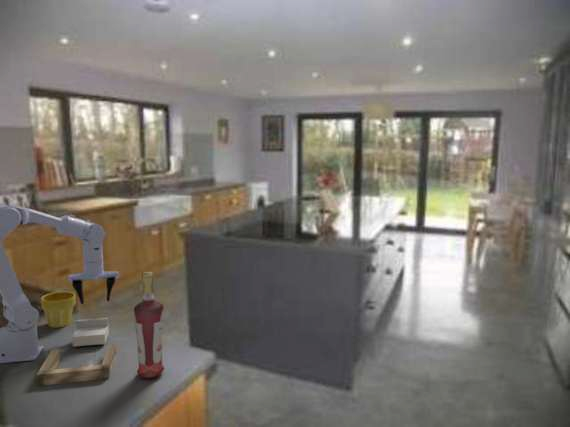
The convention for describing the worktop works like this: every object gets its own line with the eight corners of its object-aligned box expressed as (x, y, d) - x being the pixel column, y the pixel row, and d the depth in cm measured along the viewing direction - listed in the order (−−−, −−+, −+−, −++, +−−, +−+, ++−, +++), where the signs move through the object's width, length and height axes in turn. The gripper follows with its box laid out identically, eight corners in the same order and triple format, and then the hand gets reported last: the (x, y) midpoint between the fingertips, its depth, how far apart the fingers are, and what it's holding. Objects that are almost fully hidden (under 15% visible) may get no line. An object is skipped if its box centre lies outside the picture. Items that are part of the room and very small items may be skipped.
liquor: (164, 380, 112) (161, 276, 108) (134, 383, 111) (130, 278, 106) (165, 366, 119) (163, 268, 115) (138, 368, 118) (134, 269, 113)
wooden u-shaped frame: (37, 385, 109) (36, 374, 108) (52, 359, 122) (52, 349, 122) (109, 378, 113) (108, 367, 112) (116, 353, 126) (116, 343, 126)
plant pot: (83, 318, 151) (81, 291, 149) (65, 331, 140) (63, 302, 139) (55, 316, 152) (53, 290, 150) (35, 329, 141) (33, 300, 140)
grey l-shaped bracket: (72, 349, 128) (71, 329, 127) (78, 338, 135) (77, 320, 134) (105, 346, 130) (104, 326, 129) (108, 336, 137) (107, 317, 136)
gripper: (66, 265, 130) (68, 308, 132) (117, 262, 135) (119, 303, 137) (69, 259, 137) (71, 300, 139) (118, 256, 142) (119, 296, 144)
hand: (95, 301), depth 139 cm, fingers open, 7 cm apart
